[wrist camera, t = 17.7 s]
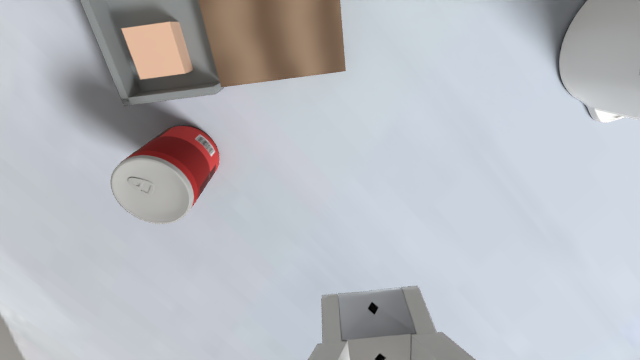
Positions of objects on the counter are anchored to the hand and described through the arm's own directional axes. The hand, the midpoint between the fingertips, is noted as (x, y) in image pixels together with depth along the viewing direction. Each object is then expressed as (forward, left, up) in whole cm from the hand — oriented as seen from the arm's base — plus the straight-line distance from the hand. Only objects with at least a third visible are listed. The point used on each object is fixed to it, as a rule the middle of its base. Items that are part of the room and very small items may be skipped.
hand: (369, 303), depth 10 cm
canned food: (+19, +5, -31) cm, 37 cm away
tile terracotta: (+18, -7, -30) cm, 36 cm away
